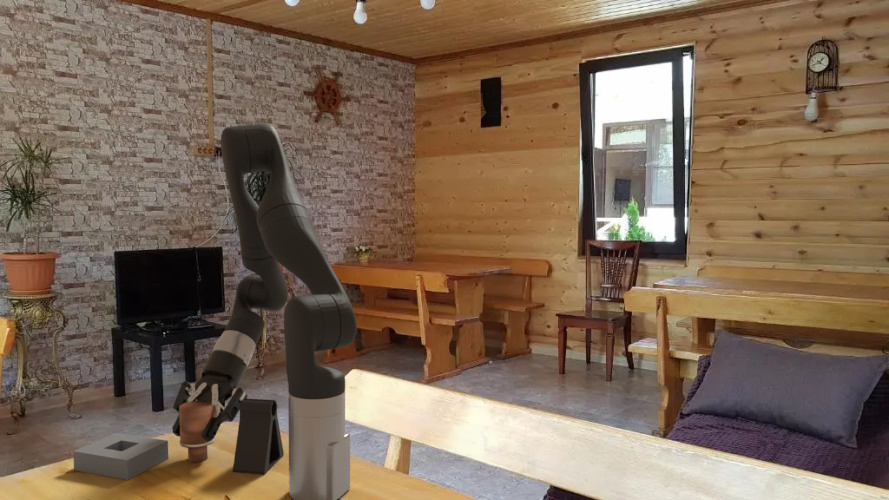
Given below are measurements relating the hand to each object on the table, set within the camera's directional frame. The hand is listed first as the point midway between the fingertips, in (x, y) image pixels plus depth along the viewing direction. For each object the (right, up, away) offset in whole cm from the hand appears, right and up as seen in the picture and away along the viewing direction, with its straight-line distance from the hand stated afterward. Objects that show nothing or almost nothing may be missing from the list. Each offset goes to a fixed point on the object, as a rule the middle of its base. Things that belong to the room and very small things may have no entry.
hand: (191, 436), depth 127 cm
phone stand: (+12, -5, 0) cm, 13 cm away
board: (-12, -5, -1) cm, 13 cm away
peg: (0, -5, +2) cm, 5 cm away
